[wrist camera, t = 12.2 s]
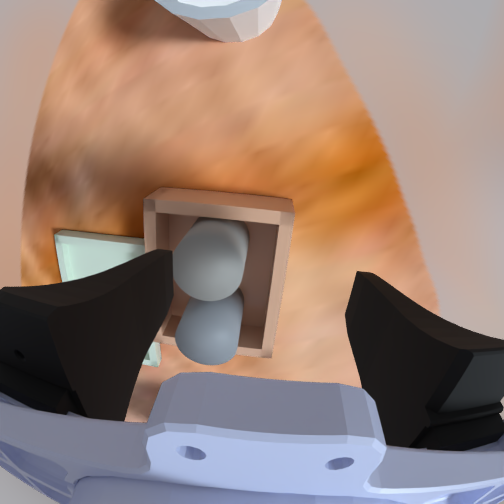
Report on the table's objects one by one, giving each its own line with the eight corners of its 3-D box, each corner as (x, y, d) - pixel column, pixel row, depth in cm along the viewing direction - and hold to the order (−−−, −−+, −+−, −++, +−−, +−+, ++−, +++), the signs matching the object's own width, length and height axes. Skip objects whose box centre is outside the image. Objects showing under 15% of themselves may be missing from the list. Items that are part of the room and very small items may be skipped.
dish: (272, 332, 25) (271, 358, 22) (164, 317, 25) (153, 341, 22) (292, 199, 20) (294, 213, 18) (160, 187, 21) (143, 198, 18)
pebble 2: (235, 326, 24) (227, 371, 20) (187, 311, 24) (170, 353, 20) (251, 286, 23) (245, 329, 18) (198, 269, 22) (181, 309, 18)
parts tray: (161, 358, 27) (157, 367, 26) (84, 340, 27) (79, 348, 26) (152, 239, 22) (146, 245, 21) (62, 229, 23) (54, 234, 21)
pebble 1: (244, 268, 22) (236, 307, 18) (189, 257, 22) (168, 293, 18) (254, 215, 21) (249, 242, 16) (195, 204, 21) (173, 228, 16)
